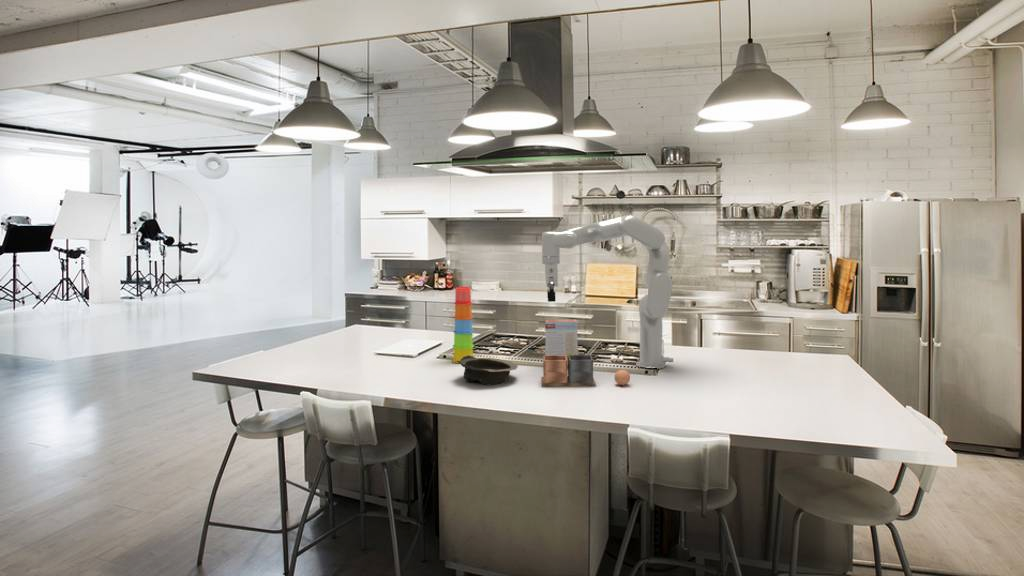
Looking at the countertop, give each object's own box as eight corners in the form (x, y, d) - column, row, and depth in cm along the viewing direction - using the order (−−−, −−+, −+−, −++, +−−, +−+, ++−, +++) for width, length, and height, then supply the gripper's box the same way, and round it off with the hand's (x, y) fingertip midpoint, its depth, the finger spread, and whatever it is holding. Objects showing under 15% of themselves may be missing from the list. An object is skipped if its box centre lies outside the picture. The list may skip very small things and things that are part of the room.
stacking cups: (476, 358, 287) (474, 285, 283) (472, 363, 277) (470, 288, 273) (454, 358, 288) (452, 286, 284) (450, 363, 278) (448, 288, 274)
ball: (628, 382, 241) (628, 368, 240) (631, 387, 235) (631, 371, 234) (613, 383, 241) (613, 368, 240) (615, 387, 235) (615, 372, 234)
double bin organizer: (592, 378, 248) (592, 354, 246) (595, 386, 237) (595, 360, 236) (541, 379, 248) (540, 354, 247) (541, 386, 237) (541, 361, 236)
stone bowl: (444, 381, 247) (445, 359, 246) (484, 373, 266) (485, 352, 266) (491, 390, 232) (492, 366, 231) (530, 381, 251) (530, 358, 251)
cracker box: (577, 365, 271) (577, 319, 268) (577, 368, 265) (577, 321, 262) (546, 365, 272) (545, 319, 270) (545, 368, 266) (545, 321, 264)
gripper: (560, 261, 253) (560, 302, 254) (559, 258, 270) (559, 297, 272) (542, 262, 253) (542, 302, 255) (542, 259, 270) (542, 297, 272)
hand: (551, 299), depth 263 cm, fingers open, 9 cm apart
